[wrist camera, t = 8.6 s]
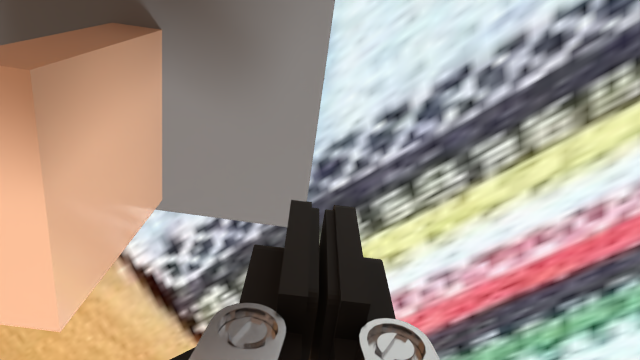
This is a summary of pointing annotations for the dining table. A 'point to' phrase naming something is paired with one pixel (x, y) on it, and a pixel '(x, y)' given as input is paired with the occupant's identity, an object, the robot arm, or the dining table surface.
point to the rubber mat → (219, 93)
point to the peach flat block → (74, 163)
